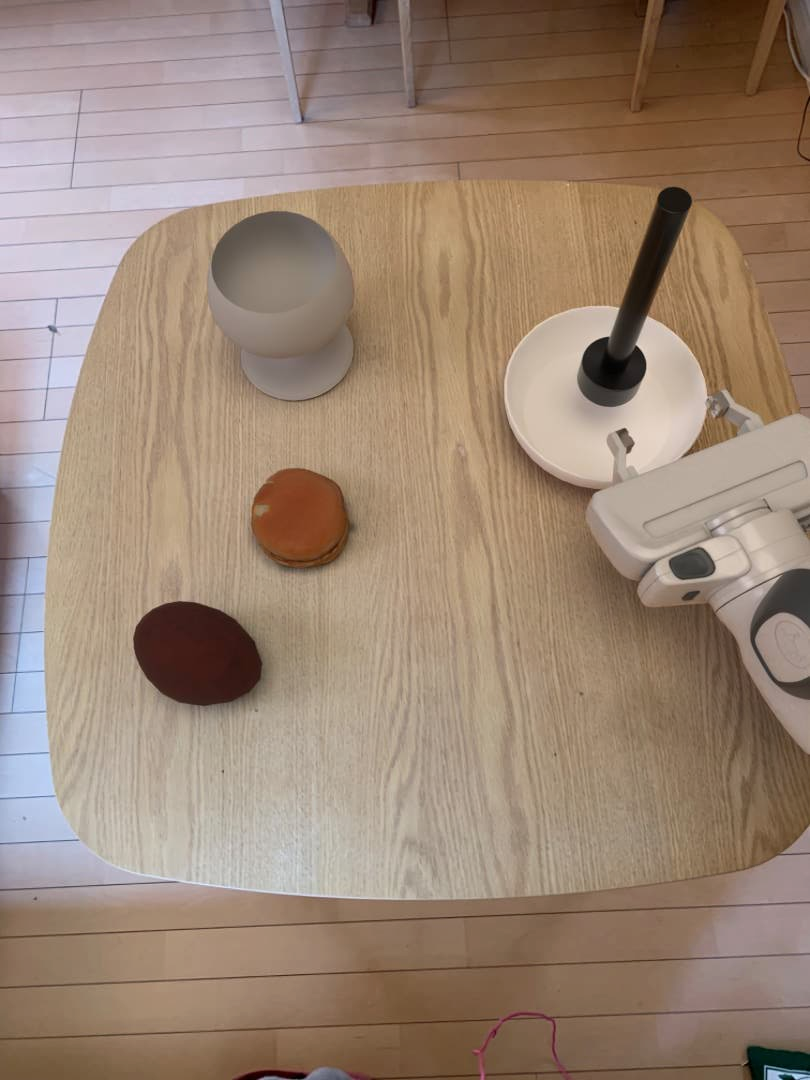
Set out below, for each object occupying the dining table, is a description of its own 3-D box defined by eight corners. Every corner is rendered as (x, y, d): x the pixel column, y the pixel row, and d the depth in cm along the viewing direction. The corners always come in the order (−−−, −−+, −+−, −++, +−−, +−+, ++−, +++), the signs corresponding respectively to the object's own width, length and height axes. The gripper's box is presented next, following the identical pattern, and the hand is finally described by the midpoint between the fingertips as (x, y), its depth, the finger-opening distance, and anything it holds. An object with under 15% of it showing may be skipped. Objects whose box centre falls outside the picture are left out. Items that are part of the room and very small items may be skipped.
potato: (174, 602, 82) (143, 571, 73) (287, 645, 80) (269, 620, 71) (132, 685, 79) (95, 664, 70) (248, 733, 77) (225, 717, 69)
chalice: (281, 434, 88) (253, 353, 74) (207, 344, 92) (168, 252, 78) (388, 361, 91) (381, 270, 77) (312, 277, 95) (292, 176, 81)
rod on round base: (649, 369, 82) (731, 186, 60) (623, 417, 81) (697, 246, 58) (593, 344, 84) (653, 154, 61) (566, 390, 82) (617, 213, 59)
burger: (363, 551, 83) (359, 534, 79) (273, 585, 82) (264, 569, 78) (330, 467, 87) (324, 446, 82) (243, 498, 86) (233, 479, 81)
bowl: (622, 312, 92) (635, 275, 86) (728, 454, 86) (749, 425, 80) (464, 387, 89) (467, 355, 84) (562, 540, 83) (572, 516, 77)
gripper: (882, 492, 65) (787, 351, 70) (644, 590, 63) (563, 438, 68) (845, 523, 71) (759, 391, 76) (626, 613, 69) (552, 472, 74)
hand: (665, 414), depth 72 cm, fingers open, 8 cm apart
